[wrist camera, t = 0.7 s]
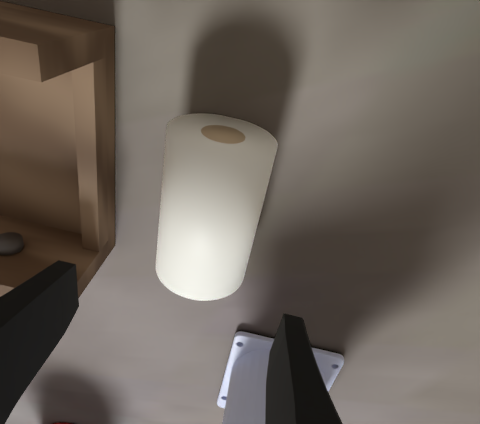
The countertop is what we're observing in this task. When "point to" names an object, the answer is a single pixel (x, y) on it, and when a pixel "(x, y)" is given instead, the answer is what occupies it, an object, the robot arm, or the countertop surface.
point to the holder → (55, 144)
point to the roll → (211, 202)
